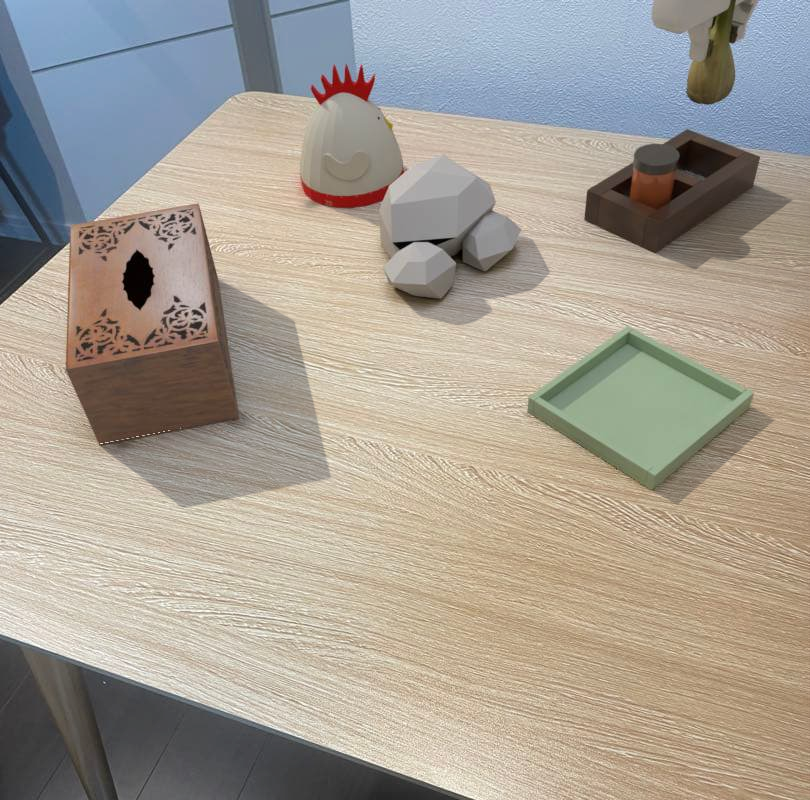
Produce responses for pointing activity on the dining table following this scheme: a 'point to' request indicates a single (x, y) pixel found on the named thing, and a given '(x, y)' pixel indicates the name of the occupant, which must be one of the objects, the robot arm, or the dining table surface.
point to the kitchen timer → (348, 146)
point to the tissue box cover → (147, 325)
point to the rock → (440, 226)
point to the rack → (674, 192)
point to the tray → (640, 405)
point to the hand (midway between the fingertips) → (716, 49)
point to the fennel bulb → (714, 64)
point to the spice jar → (654, 174)
